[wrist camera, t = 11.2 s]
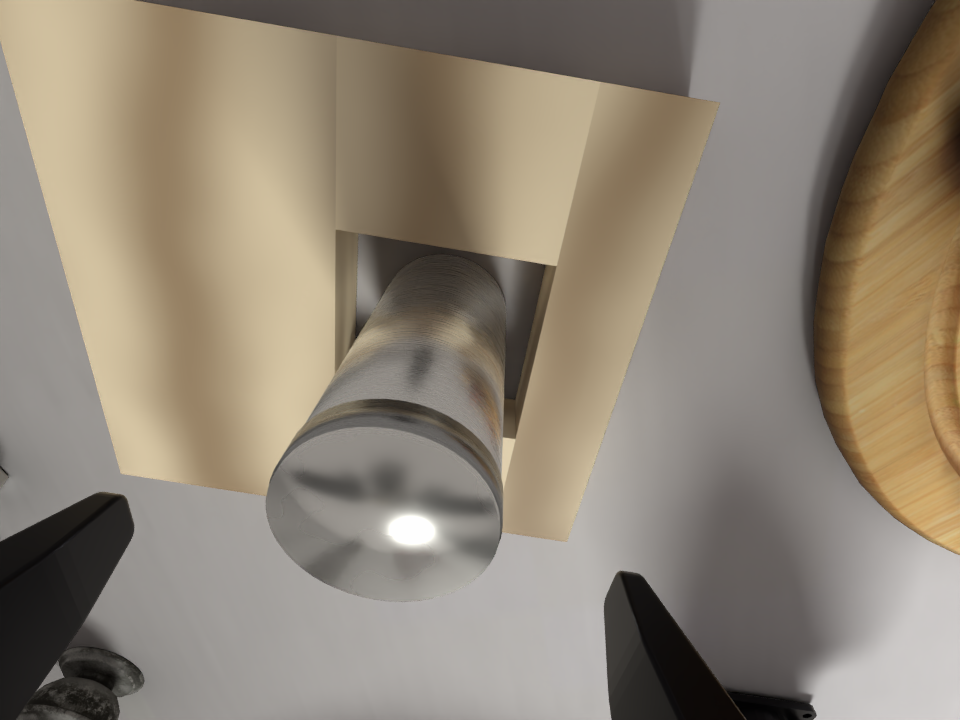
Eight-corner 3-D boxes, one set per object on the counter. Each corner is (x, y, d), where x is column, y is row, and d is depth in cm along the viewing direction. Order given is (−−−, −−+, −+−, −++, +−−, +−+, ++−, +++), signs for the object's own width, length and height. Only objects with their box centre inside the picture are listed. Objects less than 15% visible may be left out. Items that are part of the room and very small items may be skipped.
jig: (689, 99, 14) (720, 102, 12) (561, 496, 22) (566, 542, 20) (64, -11, 14) (-19, -27, 12) (159, 434, 22) (121, 473, 20)
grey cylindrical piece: (518, 264, 17) (524, 455, 8) (496, 376, 19) (482, 617, 11) (386, 242, 17) (254, 412, 8) (379, 357, 19) (270, 585, 11)
